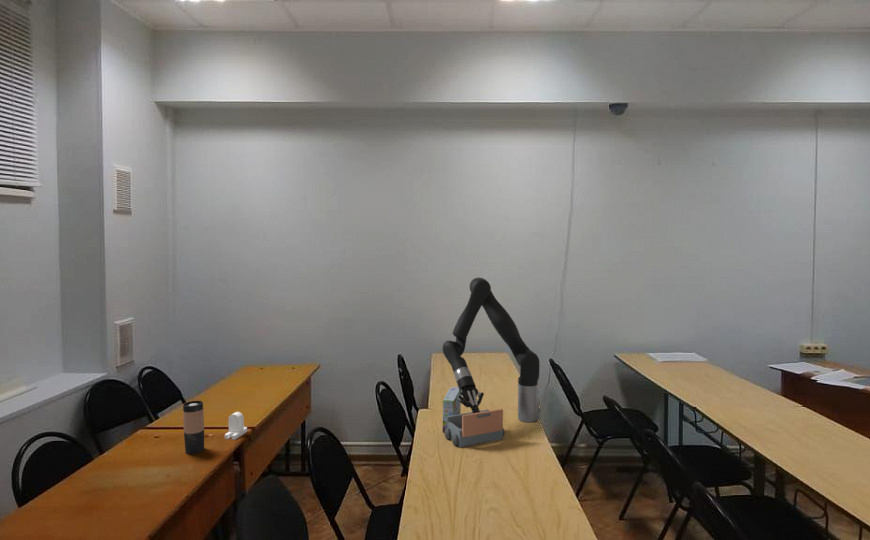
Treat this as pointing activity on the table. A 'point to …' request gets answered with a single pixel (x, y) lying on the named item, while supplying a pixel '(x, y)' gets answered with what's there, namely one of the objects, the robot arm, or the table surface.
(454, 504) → the table surface
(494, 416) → the tailgate
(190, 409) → the travel mug
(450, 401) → the snack box
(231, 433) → the cable organizer
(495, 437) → the trailer
